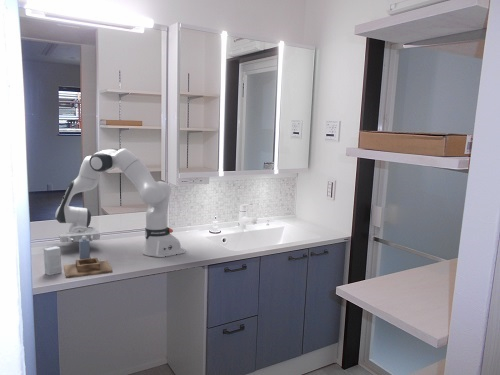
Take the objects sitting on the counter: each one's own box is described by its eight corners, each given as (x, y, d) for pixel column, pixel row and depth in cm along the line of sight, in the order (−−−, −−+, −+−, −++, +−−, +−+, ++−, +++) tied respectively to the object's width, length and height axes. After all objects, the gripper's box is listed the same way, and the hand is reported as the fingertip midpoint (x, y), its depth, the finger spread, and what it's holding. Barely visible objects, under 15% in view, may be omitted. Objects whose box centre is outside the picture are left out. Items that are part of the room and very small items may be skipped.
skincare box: (57, 270, 195) (56, 245, 193) (61, 272, 192) (60, 247, 190) (44, 273, 190) (43, 248, 188) (48, 275, 187) (47, 250, 186)
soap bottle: (88, 259, 212) (88, 234, 211) (90, 262, 208) (89, 237, 207) (79, 260, 210) (78, 235, 209) (80, 263, 206) (79, 237, 205)
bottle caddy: (107, 262, 209) (107, 254, 208) (112, 272, 195) (112, 264, 194) (63, 267, 200) (63, 259, 199) (66, 278, 185) (65, 269, 185)
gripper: (58, 229, 226) (59, 235, 214) (97, 227, 235) (101, 232, 223) (58, 241, 227) (60, 247, 215) (97, 237, 236) (101, 244, 224)
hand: (81, 240), depth 219 cm, fingers open, 8 cm apart
